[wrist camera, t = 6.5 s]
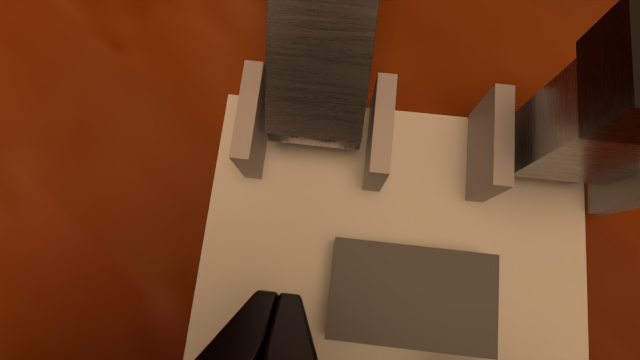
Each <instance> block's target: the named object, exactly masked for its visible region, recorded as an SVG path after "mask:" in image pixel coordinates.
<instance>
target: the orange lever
mask: <svg viewBox="0 0 640 360" xmlns="http://www.w3.org/2000/svg"><path fill="white" fill-rule="evenodd" d="M378 6H379V0H267V39H266V89H265V133H267V138H268V141H272V142H281V143H291V144H301V145H311V146H321V147H331V148H341V149H350V150H360V144H361V141H362V134H363V126H364V118H365V110H366V102H367V94H368V86H369V78H370V70H371V62H372V54H373V46H374V38H375V30H376V22H377V14H378Z"/></svg>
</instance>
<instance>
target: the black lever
mask: <svg viewBox="0 0 640 360" xmlns="http://www.w3.org/2000/svg"><path fill="white" fill-rule="evenodd" d="M576 55H577V58H576V59H575V60H574V61H573V62H572V63H570V64H569V65H568V66H567V67H566V68H565V69H564V70H563V71H561V72H560V73H559V74H558V75H557V76H556V77H555V78H554V79H552V80H551V81H550V82H549V83H548V84H547V85H546V86H545V87H543V88H542V89H541V90H540V91H539V92H538V93H537V94H536V95H534V96H533V97H532V98H531V99H530V100H529V101H528V102H527V103H525V104H524V105H523V106H522V107H521V108H520V109H519V110H518V111H516V112H515V151H514V176H517V177H527V178H537V179H546V180H556V181H566V182H576V183H585V184H595V185H605V186H606V185H609V184H612V183H615V182H618V181H621V180H624V179H627V178H630V177H633V176H636V175H639V174H640V0H620V1H619V2H617V3H616V4H615V5H614V6H613V7H612V8H611V9H610V10H609V11H608V12H607V13H606V14H605V15H604V16H603V17H602V18H601V19H600V20H599V21H598V22H597V23H595V24H594V25H593V26H592V27H591V28H590V29H589V30H588V31H587V32H586V33H585V34H584V35H583V36H582V37H581V38H580V39H579V40H578V41H577V42H576Z"/></svg>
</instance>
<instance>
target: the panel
mask: <svg viewBox="0 0 640 360" xmlns="http://www.w3.org/2000/svg"><path fill="white" fill-rule="evenodd" d="M397 76H398V74H388V73H378V76H377V80H376V84H375V88H374V92H373V96H372V100H371V104H370V108H366V110H365V118H364V126H363V134H362V141H361V144H360V150H350V149H341V148H331V147H321V146H311V145H301V144H291V143H281V142H272V141H268V138H267V133H265V89H266V68H265V65H264V62H260V61H249V60H245V62H244V68H243V74H242V80H241V86H240V93H239V95H230V94H228V100H227V106H226V112H225V118H224V123H223V129H222V135H221V141H220V147H219V153H218V159H217V164H216V170H215V176H214V182H213V188H212V194H211V200H210V205H209V211H208V217H207V223H206V229H205V235H204V240H203V246H202V252H201V258H200V264H199V270H198V276H197V281H196V287H195V293H194V299H193V305H192V311H191V317H190V322H189V328H188V334H187V340H186V346H185V352H184V358H183V360H194V359H195V358H196V357H197V356H198V355H199V354H200V353H201V352H202V351H203V349H204V348H205V347H206V346H207V345H208V344H209V343H210V342H211V341H212V339H213V338H214V337H215V336H216V335H217V334H218V333H219V332H220V331H221V329H222V328H223V327H224V326H225V325H226V324H227V323H228V322H229V321H230V319H231V318H232V317H233V316H234V315H235V314H236V313H237V312H238V311H239V309H240V308H241V307H242V306H243V305H244V304H245V303H246V302H247V301H248V299H249V298H250V297H251V296H252V295H253V294H254V293H255V292H256V291H258V290H266V291H274V292H277V293H278V295H279V294H280V293H291V294H298V295H300V296H301V298H302V301H303V305H304V308H305V312H306V316H307V320H308V323H309V327H310V331H311V335H312V339H313V342H314V346H315V350H316V354H317V357H318V360H589V349H588V312H587V274H586V237H585V200H584V183H576V182H566V181H556V180H546V179H537V178H527V177H517V176H514V151H515V85H506V84H495V85H494V86H493V87H492V88H491V89H490V90H489V92H488V93H487V94H486V95H485V96H484V97H483V99H482V100H481V101H480V102H479V103H478V104H477V106H476V107H475V108H474V109H473V110H472V111H471V113H470V114H469V115H468V118H467V117H456V116H446V115H436V114H426V113H415V112H405V111H395V102H396V89H397ZM587 203H588V214H596V215H610V214H614V213H618V212H623V211H627V210H631V209H636V208H640V174H639V175H636V176H633V177H630V178H627V179H624V180H621V181H618V182H615V183H612V184H609V185H606V186H605V185H595V184H587Z"/></svg>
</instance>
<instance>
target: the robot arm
mask: <svg viewBox="0 0 640 360" xmlns="http://www.w3.org/2000/svg"><path fill="white" fill-rule="evenodd" d="M194 360H318V357H317V354H316V350H315V346H314V342H313V339H312V335H311V331H310V327H309V323H308V320H307V316H306V312H305V308H304V305H303V301H302V298H301V296H300V295H298V294H291V293H280V294H279V295H278V293H277V292H274V291H266V290H258V291H256V292H255V293H254V294H253V295H252V296H251V297H250V298H249V299H248V301H247V302H246V303H245V304H244V305H243V306H242V307H241V308H240V309H239V311H238V312H237V313H236V314H235V315H234V316H233V317H232V318H231V319H230V321H229V322H228V323H227V324H226V325H225V326H224V327H223V328H222V329H221V331H220V332H219V333H218V334H217V335H216V336H215V337H214V338H213V339H212V341H211V342H210V343H209V344H208V345H207V346H206V347H205V348H204V349H203V351H202V352H201V353H200V354H199V355H198V356H197V357H196V358H195V359H194Z"/></svg>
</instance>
